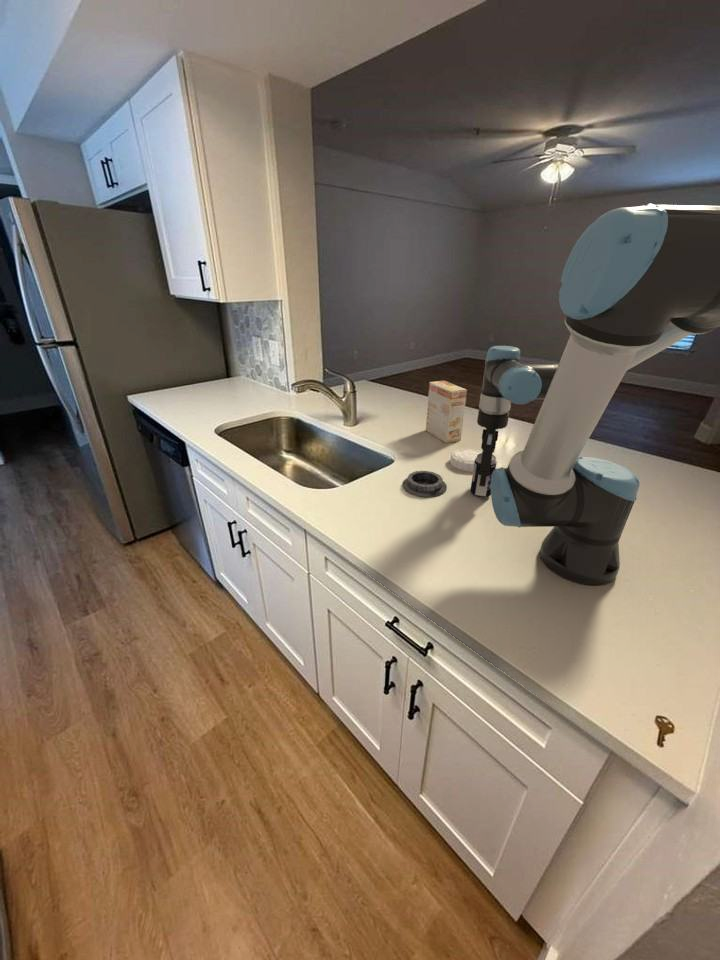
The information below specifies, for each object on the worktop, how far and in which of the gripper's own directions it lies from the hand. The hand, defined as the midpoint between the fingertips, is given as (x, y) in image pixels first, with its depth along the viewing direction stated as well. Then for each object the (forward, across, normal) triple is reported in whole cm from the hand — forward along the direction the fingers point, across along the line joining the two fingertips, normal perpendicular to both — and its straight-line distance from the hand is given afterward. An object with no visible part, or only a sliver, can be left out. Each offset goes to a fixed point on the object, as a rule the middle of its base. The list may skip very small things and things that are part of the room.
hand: (482, 483), depth 109 cm
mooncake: (+4, +20, +5) cm, 21 cm away
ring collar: (+4, 0, +16) cm, 16 cm away
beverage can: (+4, 0, 0) cm, 4 cm away
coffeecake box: (+4, +43, +17) cm, 46 cm away
